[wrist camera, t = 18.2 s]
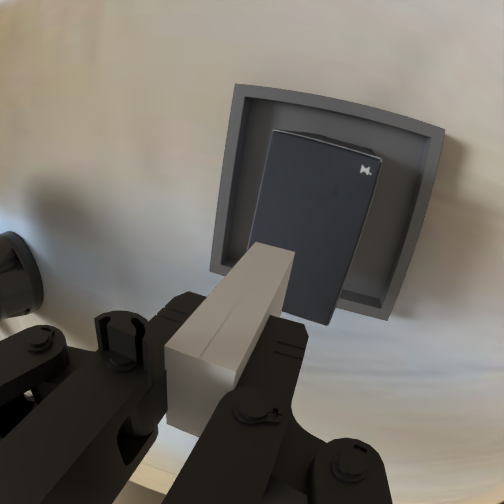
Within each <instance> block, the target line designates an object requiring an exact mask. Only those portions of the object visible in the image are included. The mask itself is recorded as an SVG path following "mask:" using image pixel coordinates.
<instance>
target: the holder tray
mask: <svg viewBox="0 0 504 504" xmlns="http://www.w3.org/2000/svg"><path fill="white" fill-rule="evenodd" d="M274 129H279V130H288V131H298V132H308V133H313V134H319V135H324V136H326V137H328V138H332V139H336V140H339V141H342V142H346V143H352V144H353V145H357V146H359V147H366V148H368V149H372V151H373V152H374V153H375V154H376V155H377V156H380V157H381V159H382V161H383V166H382V169H381V173H380V176H379V180H378V183H377V187H376V190H375V194H374V197H373V201H372V204H371V207H370V210H369V213H368V217H367V220H366V223H365V226H364V229H363V232H362V235H361V239H360V242H359V245H358V247H357V250H356V253H355V257H354V259H353V262H352V265H351V268H350V270H349V273H348V276H347V279H346V281H345V284H344V287H343V289H342V292H341V295H340V297H339V300H338V303H337V305H336V308H340V309H344V310H347V311H351V312H355V313H359V314H362V315H366V316H370V317H374V318H378V319H382V320H386V321H388V318H389V316H390V314H391V311H392V309H393V306H394V304H395V301H396V299H397V296H398V294H399V291H400V288H401V286H402V283H403V280H404V278H405V275H406V272H407V269H408V266H409V264H410V261H411V258H412V255H413V252H414V249H415V246H416V243H417V240H418V236H419V233H420V230H421V227H422V223H423V220H424V217H425V213H426V210H427V206H428V202H429V199H430V195H431V191H432V187H433V183H434V179H435V175H436V171H437V166H438V162H439V157H440V153H441V148H442V143H443V138H444V133H445V129H443V128H440V127H437V126H434V125H431V124H428V123H425V122H422V121H419V120H416V119H413V118H409V117H406V116H403V115H399V114H396V113H392V112H389V111H385V110H381V109H377V108H374V107H370V106H366V105H362V104H357V103H353V102H349V101H344V100H340V99H335V98H330V97H325V96H320V95H314V94H309V93H303V92H297V91H291V90H284V89H277V88H270V87H262V86H253V85H244V84H235V87H234V93H233V99H232V106H231V112H230V118H229V125H228V131H227V138H226V145H225V152H224V159H223V166H222V173H221V181H220V188H219V196H218V203H217V211H216V219H215V227H214V236H213V244H212V253H211V262H210V272H213V273H217V274H220V275H223V276H226V275H227V274H228V273H229V272H230V270H231V269H232V268H233V267H234V266H235V265H236V264H237V262H238V261H239V260H240V259H241V258H242V257H243V256H244V255H245V253H246V252H247V247H248V242H249V238H250V233H251V228H252V223H253V219H254V214H255V209H256V204H257V200H258V195H259V190H260V185H261V180H262V176H263V171H264V166H265V161H266V156H267V151H268V147H269V142H270V137H271V133H272V130H274Z"/></svg>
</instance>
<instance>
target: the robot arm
mask: <svg viewBox="0 0 504 504" xmlns="http://www.w3.org/2000/svg"><path fill="white" fill-rule="evenodd" d="M294 255H295V252H293V251H289V250H286V249H282V248H278V247H274V246H270V245H266V244H262V243H258V242H255V243H254V244H253V245H252V247H251V248H250V249H249V250H248V251H247V252H246V253H245V255H244V256H243V257H242V258H241V259H240V260H239V261H238V262H237V264H236V265H235V266H234V267H233V268H232V269H231V270H230V272H229V273H228V274H227V275H226V276H225V277H224V278H223V279H222V281H221V282H220V283H219V284H218V285H217V286H216V287H215V289H214V290H213V291H212V292H211V293H210V294H209V295H208V297H205V296H202V295H199V294H195V293H192V292H189V291H188V292H186V293H183V294H181V295H178V296H176V297H174V298H173V299H172V300H171V301H170V302H169V303H168V304H167V305H166V306H165V308H162V309H161V310H160V311H159V312H158V313H157V316H156V315H155V316H154V317H153V318H152V319H151V320H150V321H149V322H148V321H147V319H146V318H144V317H142V316H140V315H139V314H137V313H133V312H129V311H111V312H107V313H103V314H101V315H99V316H97V317H96V318H94V320H95V327H96V334H97V340H98V347H99V349H98V350H97V351H96V352H93V351H87V350H83V349H78V348H74V347H70V346H67V344H66V339H65V336H64V335H63V333H62V331H60V330H59V329H57V328H56V327H53V326H49V325H36V326H33V327H30V328H27V329H25V330H23V331H21V332H18V333H16V334H14V335H12V336H10V337H8V338H6V339H4V340H2V341H0V504H112V503H113V502H114V500H115V499H116V497H117V496H118V494H119V493H120V491H121V490H122V489H123V487H124V486H125V484H126V483H127V481H128V480H129V478H130V477H131V476H132V474H133V473H134V471H135V470H136V468H137V467H138V465H139V464H140V462H141V461H142V459H143V458H144V457H145V455H146V454H147V452H148V451H149V449H150V448H151V446H152V445H153V443H154V442H155V440H156V438H157V435H158V423H159V422H160V420H161V419H162V418H163V416H164V415H165V413H166V417H167V424H168V425H171V426H173V427H175V428H178V429H180V430H183V431H185V432H187V433H190V434H192V435H195V436H197V437H200V438H199V439H198V441H197V443H196V445H195V446H194V448H193V450H192V452H191V454H190V455H189V457H188V459H187V461H186V462H185V464H184V466H183V468H182V469H181V471H180V473H179V474H178V476H177V478H176V480H175V481H174V483H173V485H172V486H171V488H170V490H169V492H168V493H167V495H166V497H165V498H164V500H163V502H162V503H161V504H393V503H392V499H391V494H390V489H389V485H388V480H387V476H386V472H385V467H384V464H383V461H382V459H381V457H380V455H379V453H378V452H377V451H376V450H375V449H373V448H372V447H371V446H370V445H369V444H367V443H364V442H362V441H360V440H358V439H351V438H340V439H334V440H332V441H330V442H328V443H326V442H324V441H323V440H321V439H319V438H317V437H315V436H313V435H311V434H310V433H309V432H307V431H306V430H304V429H303V428H302V427H301V426H300V425H299V424H298V423H297V421H296V420H295V418H294V416H293V414H292V409H291V403H292V398H293V394H294V390H295V387H296V383H297V379H298V376H299V372H300V368H301V364H302V360H303V357H304V353H305V349H306V345H307V341H308V337H309V336H308V334H307V331H306V328H305V326H304V324H301V323H297V322H294V321H290V320H286V319H283V318H279V317H280V315H281V311H282V307H283V302H284V298H285V294H286V290H287V286H288V281H289V277H290V273H291V268H292V264H293V260H294ZM42 300H43V289H42V283H41V278H40V275H39V271H38V268H37V266H36V263H35V261H34V259H33V256H32V254H31V253H30V251H29V249H28V247H27V246H26V244H25V243H24V242H23V240H22V239H21V238H20V237H19V236H18V235H17V234H15V233H14V232H11V231H7V232H5V233H2V234H0V321H1V320H3V319H7V318H12V317H18V316H23V315H28V314H30V313H32V312H34V311H35V310H37V309H38V308H39V307H40V306H41V304H42ZM28 390H31V392H32V395H33V396H31V397H28V396H25V395H24V394H23V393H25V392H27V391H28Z"/></svg>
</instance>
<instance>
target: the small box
mask: <svg viewBox="0 0 504 504" xmlns="http://www.w3.org/2000/svg"><path fill="white" fill-rule="evenodd" d="M382 166H383V161H382V159H381V157H380V156H377V155H376V154H375V153H374V152H373V151H372V149H368V148H366V147H359V146H357V145H353V144H352V143H346V142H342V141H339V140H336V139H332V138H328V137H326V136H324V135H319V134H313V133H308V132H298V131H288V130H279V129H274V130H272V133H271V137H270V142H269V147H268V151H267V156H266V161H265V166H264V171H263V176H262V180H261V185H260V190H259V195H258V200H257V204H256V209H255V214H254V219H253V223H252V228H251V233H250V238H249V242H248V247H247V251H248V250H249V249H250V248H251V247H252V245H253V244H254V243H255V242H258V243H262V244H266V245H270V246H274V247H278V248H282V249H286V250H289V251H293V252H295V255H294V260H293V264H292V268H291V273H290V277H289V281H288V286H287V290H286V294H285V298H284V302H283V307H282V311H283V312H286V313H289V314H292V315H295V316H298V317H301V318H304V319H307V320H310V321H313V322H316V323H319V324H323V325H326V326H327V325H328V324H329V323H330V320H331V318H332V315H333V313H334V310H335V308H336V305H337V303H338V300H339V297H340V295H341V292H342V289H343V287H344V284H345V281H346V279H347V276H348V273H349V270H350V268H351V265H352V262H353V259H354V257H355V253H356V250H357V247H358V245H359V242H360V239H361V235H362V232H363V229H364V226H365V223H366V220H367V217H368V213H369V210H370V207H371V204H372V201H373V197H374V194H375V190H376V187H377V183H378V180H379V176H380V173H381V169H382Z"/></svg>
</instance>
